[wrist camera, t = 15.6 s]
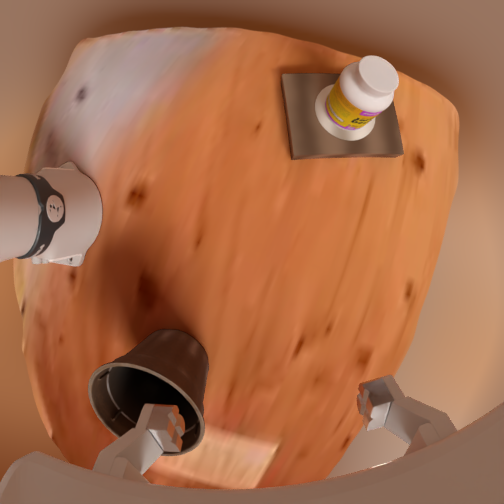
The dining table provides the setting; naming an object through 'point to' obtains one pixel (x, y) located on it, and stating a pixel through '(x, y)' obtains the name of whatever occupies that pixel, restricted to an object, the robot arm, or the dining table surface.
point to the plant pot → (154, 385)
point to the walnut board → (324, 131)
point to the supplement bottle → (361, 93)
